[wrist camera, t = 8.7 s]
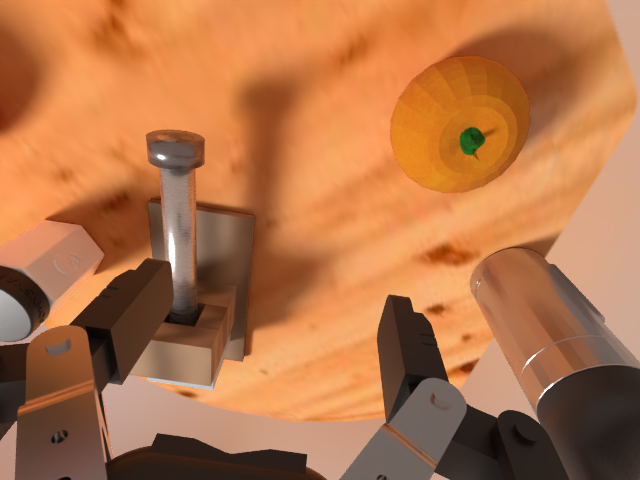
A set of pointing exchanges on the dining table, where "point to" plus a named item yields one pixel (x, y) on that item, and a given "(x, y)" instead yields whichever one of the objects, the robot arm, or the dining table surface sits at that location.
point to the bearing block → (204, 299)
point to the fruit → (460, 124)
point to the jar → (42, 274)
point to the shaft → (179, 213)
